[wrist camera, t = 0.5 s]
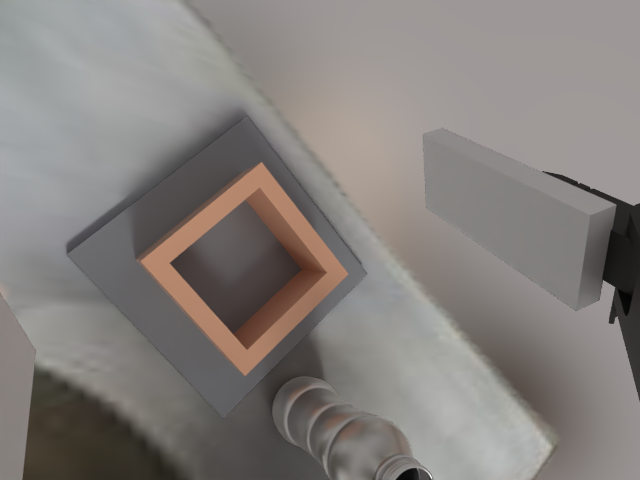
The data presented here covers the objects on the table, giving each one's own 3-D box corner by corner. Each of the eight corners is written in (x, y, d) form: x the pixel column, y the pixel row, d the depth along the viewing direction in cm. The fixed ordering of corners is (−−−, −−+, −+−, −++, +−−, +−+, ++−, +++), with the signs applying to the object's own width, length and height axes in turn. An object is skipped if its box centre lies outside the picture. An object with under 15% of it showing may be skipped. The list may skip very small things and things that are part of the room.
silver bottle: (279, 362, 50) (385, 431, 32) (336, 381, 52) (465, 455, 34) (256, 427, 49) (351, 536, 31) (315, 443, 51) (436, 552, 33)
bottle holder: (362, 273, 54) (398, 277, 47) (220, 415, 48) (240, 441, 41) (244, 118, 49) (266, 99, 42) (67, 254, 42) (61, 256, 36)
